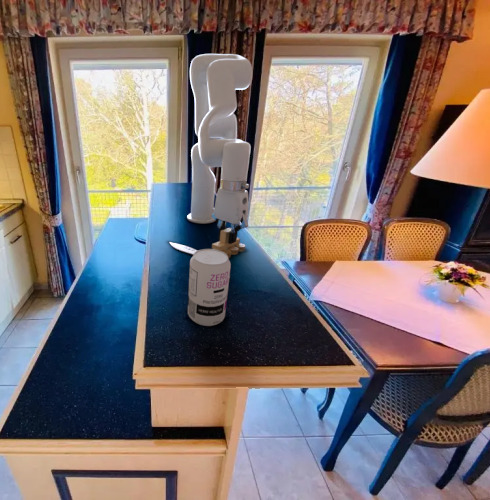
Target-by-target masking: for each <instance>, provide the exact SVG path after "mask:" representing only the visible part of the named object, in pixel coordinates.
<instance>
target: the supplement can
mask: <svg viewBox="0 0 490 500" xmlns="http://www.w3.org/2000/svg"><path fill="white" fill-rule="evenodd" d="M231 265H232V264H231V261H230V258H228V256H227V254H226V253H224V252H222V251H219V250H215V249H213V248H203V249H199V250H198V251H196V252H195V253H194V255H193V254H192V257H191V258H190V260H189V277H188V294H187V295H188V297H187V298H188V299H187V302H188V303H187V315H188V317H189V318H190V319H191V321H193V322H194V323H196V324H198V325H200V326H205V327H212V326H217V325H218V324H220V323H222V322H223V321H224V319H225V318H226V311H227V310H226V309H227V301H228V292H229V283H230V278H229V276H230V277H231Z"/></svg>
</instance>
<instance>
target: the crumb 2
mask: <svg viewBox="0 0 490 500" xmlns="http://www.w3.org/2000/svg"><path fill="white" fill-rule="evenodd" d="M235 247H238V248H239V250H238V252H245V251H246V244H244V243H241V242H240V243H238V244H236V246H235Z"/></svg>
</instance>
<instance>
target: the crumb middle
mask: <svg viewBox="0 0 490 500" xmlns="http://www.w3.org/2000/svg"><path fill="white" fill-rule="evenodd" d="M228 250H230V251H231V256H232V255H233V256H235V255H236V256H237V255H238V254H239V251H238V250H239V248H238V247H235V246H231V247H229V248H228Z"/></svg>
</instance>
